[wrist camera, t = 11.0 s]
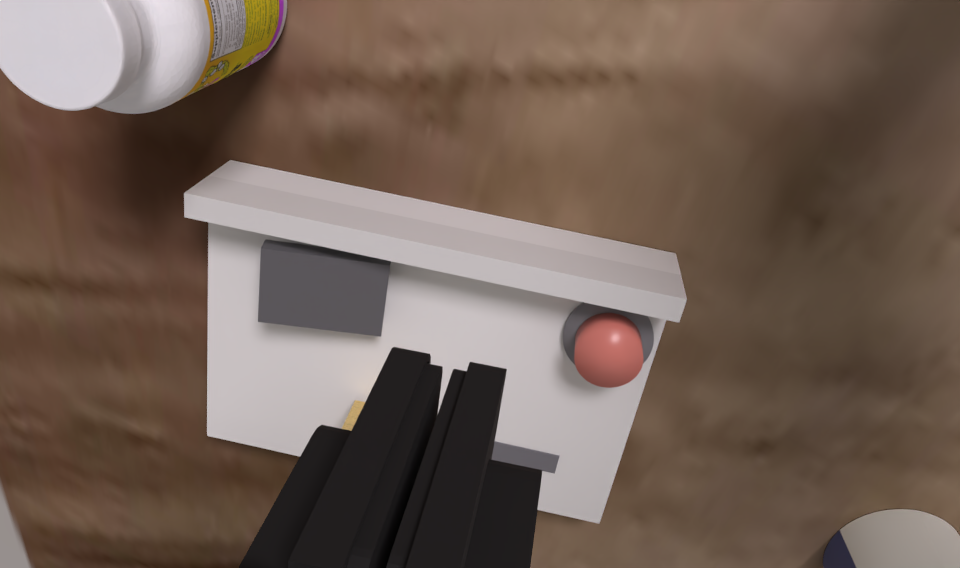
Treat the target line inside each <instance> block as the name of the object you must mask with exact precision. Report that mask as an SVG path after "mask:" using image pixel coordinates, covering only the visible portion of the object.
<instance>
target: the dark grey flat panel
mask: <svg viewBox="0 0 960 568" xmlns="http://www.w3.org/2000/svg"><path fill="white" fill-rule="evenodd" d="M390 264H391V261H387V260H383V259H378V258H373V257H369V256H364V255H359V254H355V253H350V252H345V251H341V250H336V249H331V248H326V247H319V246H312V245H304V244H297V243H289V242H282V241H274V240H267V239H265V241H264V243H263V245H262V247H261V257H260V281H259V305H258V322H263V323H272V324H280V325H288V326H296V327H305V328H313V329H321V330H330V331H338V332H346V333H354V334H363V335H371V336H379V337H381V333H382V326H383V318H384V311H385V303H386V295H387V287H388V280H389V272H390Z"/></svg>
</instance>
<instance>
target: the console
mask: <svg viewBox="0 0 960 568" xmlns="http://www.w3.org/2000/svg"><path fill="white" fill-rule="evenodd" d="M184 217H186V218H190V219H195V220H200V221H204V222H208V359H207V436H211V437H215V438H219V439H224V440H228V441H233V442H237V443H242V444H246V445H251V446H255V447H260V448H264V449H268V450H273V451H277V452H282V453H286V454H291V455H295V456H301V454H302V453H303V451H304V449H305V447H306V445H307V443H308V442H309V440H310V438H311V436H312V435H313V433H314V432H315V430H316V429H317V427H319V426H320V425H326V426H331V427H336V428H340V429H342V427H343V425H344V422H345V420H346V418H347V416H348V414H349V412H350V410H351V408H352V406H353V404H354V401H355V400H358V401H362V402H366V400H367V398H368V396H369V394H370V392H371V390H372V388H373V385H374V383H375V381H376V379H377V377H378V375H379V373H380V371H381V369H382V367H383V365H384V363H385V361H386V359H387V357H388V355H389V353H390V351H391V349H392V348H393V347H398V348H403V349H408V350H413V351H418V352H423V353H428V354H430V355H431V364H433V365H438V366H442V367H443V373H442V382H441V390H440V398H439V406H438V412H439V409H440V406H441V403H442V400H443V397H444V394H445V392H446V389H447V386H448V383H449V380H450V377H451V374H452V371H453V369H458V370H463V371H467V369H468V366H469V363H470V362H474V363H479V364H484V365H490V366H495V367H500V368H505V369H507V371H506V378H505V384H504V389H503V395H502V401H501V407H500V413H499V419H498V424H497V430H496V436H495V442H494V448H493V454H492V460H496V461H501V462H506V463H510V464H515V465H520V466H525V467H530V468H535V469H540V470H542V478H541V486H540V494H539V501H538V509H537V510H540V511H545V512H549V513H554V514H558V515H563V516H567V517H572V518H576V519H581V520H585V521H589V522H594V523H598V524H599V523H600V520H601V517H602V514H603V511H604V508H605V505H606V502H607V499H608V496H609V493H610V490H611V487H612V484H613V481H614V478H615V475H616V472H617V469H618V466H619V463H620V459H621V456H622V453H623V450H624V447H625V444H626V441H627V438H628V435H629V432H630V429H631V426H632V423H633V420H634V417H635V414H636V411H637V408H638V405H639V402H640V399H641V396H642V392H643V389H644V386H645V383H646V380H647V377H648V374H649V371H650V368H651V365H652V362H653V359H654V356H655V353H656V350H657V347H658V344H659V341H660V338H661V335H662V332H663V329H664V325H665V322H666V320H669V321H674V322H678V323H679V322H680V319H681V316H682V313H683V310H684V307H685V304H686V301H687V298H686V293H685V289H684V285H683V281H682V277H681V273H680V268H679V264H678V260H677V256H676V253H672V252H667V251H662V250H657V249H653V248H648V247H643V246H638V245H634V244H629V243H624V242H619V241H615V240H610V239H605V238H600V237H595V236H591V235H586V234H581V233H576V232H572V231H567V230H562V229H557V228H553V227H548V226H543V225H538V224H533V223H529V222H524V221H519V220H514V219H510V218H505V217H500V216H495V215H491V214H486V213H481V212H476V211H471V210H467V209H462V208H457V207H452V206H448V205H443V204H438V203H433V202H428V201H424V200H419V199H414V198H409V197H405V196H400V195H395V194H390V193H386V192H381V191H376V190H371V189H366V188H362V187H357V186H352V185H347V184H343V183H338V182H333V181H328V180H324V179H319V178H314V177H309V176H304V175H300V174H295V173H290V172H285V171H281V170H276V169H271V168H266V167H262V166H257V165H252V164H247V163H242V162H238V161H233V160H230V161H228V162H227V163H225V164H224V165H223V166H221V167H220V168H218V169H217V170H216V171H214V172H213V173H211V174H210V175H209V176H207V177H206V178H204V179H203V180H202V181H200V182H199V183H197V184H196V185H195V186H193V187H192V188H190V189H189V190H187V191H186V192H185V193H184ZM265 239H267V240H274V241H282V242H289V243H297V244H304V245H312V246H319V247H326V248H331V249H336V250H341V251H345V252H350V253H355V254H359V255H364V256H369V257H373V258H378V259H383V260H387V261H391V264H390V272H389V280H388V287H387V295H386V303H385V311H384V318H383V326H382V333H381V337H379V336H371V335H363V334H354V333H346V332H338V331H330V330H321V329H313V328H305V327H296V326H288V325H280V324H272V323H263V322H258V305H259V281H260V257H261V247H262V245H263V243H264V241H265ZM601 313H615V314H619V315H622V316H625V317H626V318H628V319H630V320H631V321H632V322H633V323H634V324H635V325H636V326H637V328H638V330H639V332H640V334H641V340H642V349H643V358H644V359H643V366H642V368H641V371H640V372H639V374H638V375H637V376H636V377H635V378H634V379H633V380H632V381H630V382H629V383H627V384H625V385H622V386H619V387H612V388H606V387H600V386H596V385H594V384H591V383H590V382H588V381H586V380H585V379H584V378H583V377H582V376H581V375H580V374H579V372H578V371H577V368H576V366H575V361H574V354H575V336H576V333H577V330H578V328H579V327H580V326H581V324H582V323H583V322H584V321H585V320H587V319H588V318H590V317H592V316H594V315H597V314H601ZM437 415H438V414H437Z"/></svg>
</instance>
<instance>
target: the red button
mask: <svg viewBox="0 0 960 568" xmlns="http://www.w3.org/2000/svg"><path fill="white" fill-rule="evenodd" d="M643 359H644V358H643V349H642V340H641V334H640V332H639V330H638V328H637V326H636V325H635V324H634V323H633V322H632V321H631V320H630V319H628V318H626V317H625V316H622V315H619V314H615V313H601V314H597V315H594V316H592V317H590V318H588V319H587V320H585V321H584V322H583V323H582V324H581V326H580V327H579V328H578V330H577V333H576V336H575V354H574V361H575V366H576V368H577V371H578V372H579V374H580V375H581V376H582V377H583V378H584V379H585V380H586V381H588V382H590V383H591V384H594V385H596V386H600V387H606V388H612V387H619V386H622V385H625V384H627V383H629V382H630V381H632V380H633V379H634V378H635V377H636V376H637V375H638V374H639V372H640V371H641V368H642V366H643Z"/></svg>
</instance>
